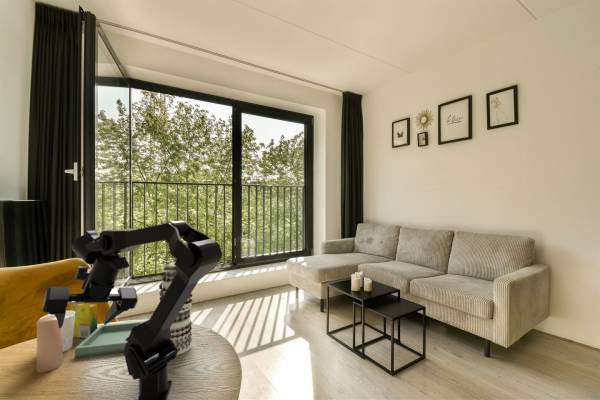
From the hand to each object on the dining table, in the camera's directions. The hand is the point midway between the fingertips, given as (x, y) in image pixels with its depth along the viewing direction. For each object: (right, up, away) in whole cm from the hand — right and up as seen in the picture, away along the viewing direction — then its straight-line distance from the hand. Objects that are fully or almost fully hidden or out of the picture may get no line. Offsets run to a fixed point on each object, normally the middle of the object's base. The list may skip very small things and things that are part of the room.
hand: (83, 325), depth 69 cm
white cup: (-16, -12, +10) cm, 23 cm away
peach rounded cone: (-10, -12, +2) cm, 16 cm away
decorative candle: (+19, -12, +11) cm, 25 cm away
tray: (-2, -12, +15) cm, 19 cm away
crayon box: (-15, -12, +19) cm, 27 cm away
